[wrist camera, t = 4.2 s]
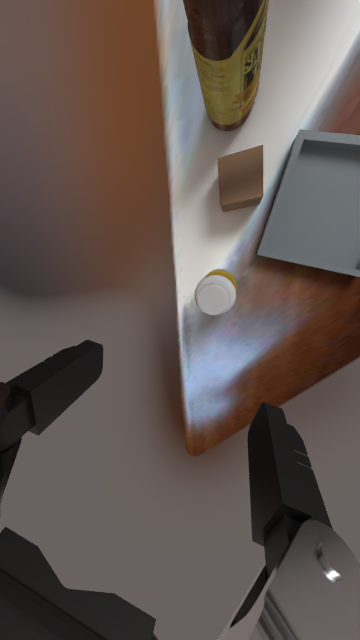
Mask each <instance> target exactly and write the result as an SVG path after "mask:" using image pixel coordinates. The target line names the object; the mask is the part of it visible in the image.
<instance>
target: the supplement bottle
mask: <svg viewBox="0 0 360 640" xmlns="http://www.w3.org/2000/svg"><path fill="white" fill-rule="evenodd" d="M236 290H237V283H236V279H235V277H234V275H233V274H232V273H231V272H229V271H227V270H225V269H216V270H213V271H211V272H210V273H209V274H208V275H207V276H205V277H204V278H203V279H202V280H201V281H200V282H199V284H198V285H197V287H196V290H195V300H196V303H197V305H198V307H199V308H200V309H201V311H203V312H204V313H206V314H208V315H221V314H224V313H226V312H227V311H229V310H230V309H231V308H232V306H233V305H234V303H235V300H236Z"/></svg>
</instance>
